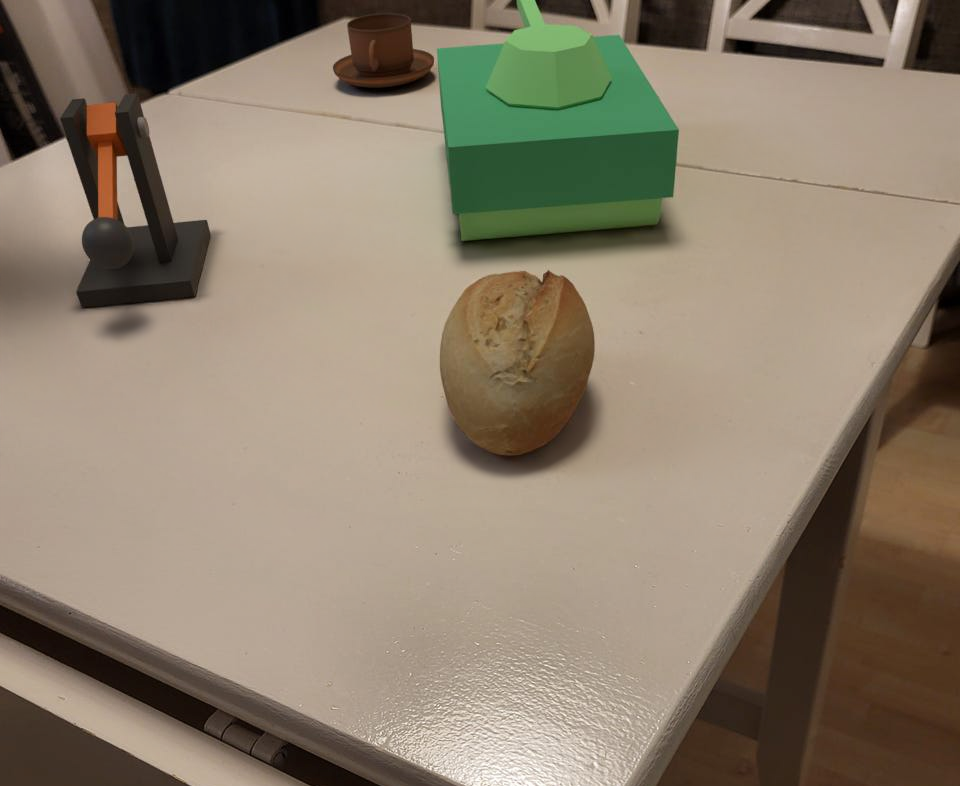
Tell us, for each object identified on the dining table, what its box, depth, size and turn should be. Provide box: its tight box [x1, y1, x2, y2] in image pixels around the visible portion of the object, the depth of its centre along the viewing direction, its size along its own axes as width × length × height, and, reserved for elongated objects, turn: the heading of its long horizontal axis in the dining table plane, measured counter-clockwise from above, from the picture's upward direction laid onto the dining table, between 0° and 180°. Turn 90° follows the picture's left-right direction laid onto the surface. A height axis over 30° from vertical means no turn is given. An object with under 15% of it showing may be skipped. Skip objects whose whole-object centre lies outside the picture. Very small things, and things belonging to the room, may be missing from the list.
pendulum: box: [81, 102, 134, 269], centre depth 72 cm, size 13×4×4 cm
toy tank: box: [436, 0, 680, 242], centre depth 88 cm, size 18×12×35 cm
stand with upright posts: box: [59, 93, 211, 308], centre depth 77 cm, size 12×9×13 cm
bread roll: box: [439, 269, 596, 457], centre depth 61 cm, size 10×15×8 cm, turn 178°
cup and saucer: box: [332, 12, 435, 89], centre depth 114 cm, size 12×12×6 cm
